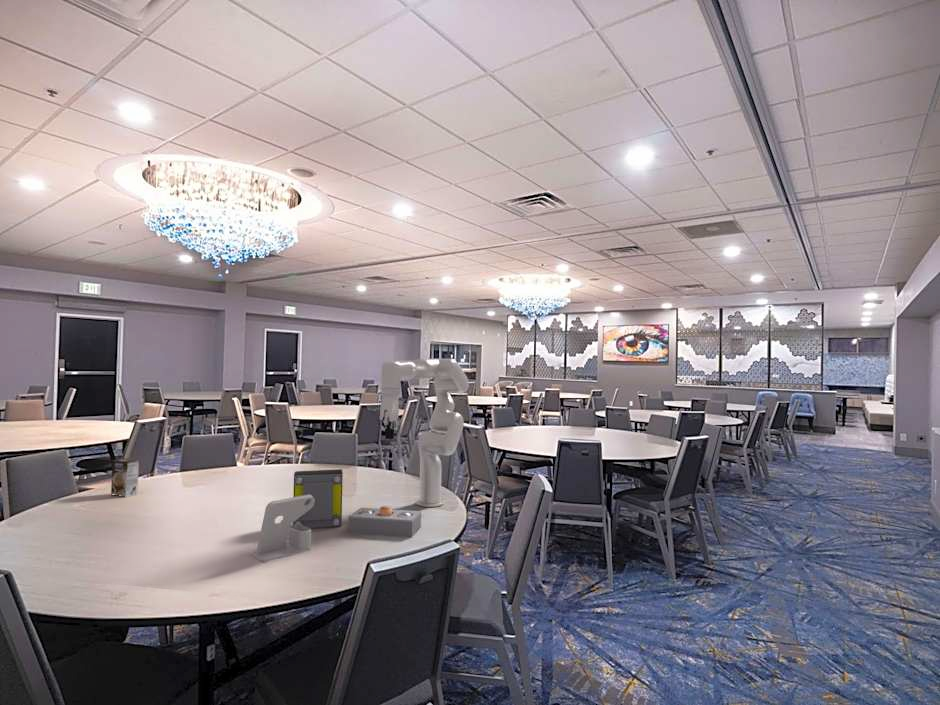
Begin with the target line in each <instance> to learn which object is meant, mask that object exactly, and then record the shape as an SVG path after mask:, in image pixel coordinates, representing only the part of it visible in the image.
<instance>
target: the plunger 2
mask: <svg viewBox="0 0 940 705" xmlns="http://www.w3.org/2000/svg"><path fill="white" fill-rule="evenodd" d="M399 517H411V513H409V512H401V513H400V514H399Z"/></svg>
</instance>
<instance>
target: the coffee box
mask: <svg viewBox="0 0 940 705" xmlns="http://www.w3.org/2000/svg"><path fill="white" fill-rule="evenodd" d="M111 462H112V463H111V491H110V495H111V494H115V495H121V496H129V495H133V494H137V495H138V489H139V470H140V469H139V468H140V467H139V465H140V464H139V463H140V459H134V458H119V459H113V460H111ZM133 496H134V495H133ZM129 497H130V496H129Z"/></svg>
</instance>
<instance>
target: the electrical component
mask: <svg viewBox="0 0 940 705" xmlns="http://www.w3.org/2000/svg"><path fill="white" fill-rule="evenodd" d="M304 495H311V496H312V497H313V498H314V499H315V502H314V506H313V507H312V508H311V509H310V510H308V511H307V512H306V513H305V514H303V515H302V516H301V517H299V518H298V519H297V520H296V521H294V522H293V523H292V525H297V524H299V525H303V526H305V527H308V528H310V529H313V528H314V529H315V528H318V529H319V528H330V527H331V528H332V527H341V526H342V518H343V515H342V514H343V513H342V512H343V469H340V468H339V469H322V470H321V469H319V470H301V471H300V470H298V471H294V474H293V497H298V496H304ZM293 497H292V498H293ZM310 501H311V499H308V500H307V501H306V502H305V504H304V505H307V504H309V503H310Z"/></svg>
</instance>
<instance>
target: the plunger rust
mask: <svg viewBox="0 0 940 705" xmlns="http://www.w3.org/2000/svg"><path fill="white" fill-rule="evenodd" d="M379 509H380V515H381V516H391V515H392V510H393V509H392V506H390V505H382V506H380V507H379Z"/></svg>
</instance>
